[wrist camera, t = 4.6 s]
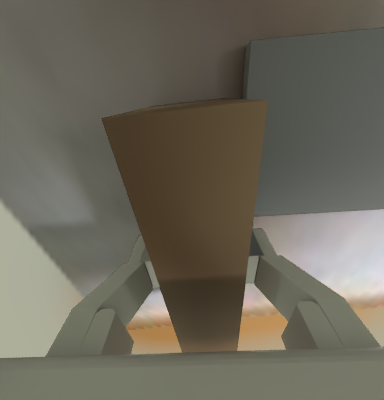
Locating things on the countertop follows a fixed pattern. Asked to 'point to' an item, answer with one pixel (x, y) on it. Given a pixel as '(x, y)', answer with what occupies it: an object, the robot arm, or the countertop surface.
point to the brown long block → (195, 206)
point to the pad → (319, 121)
